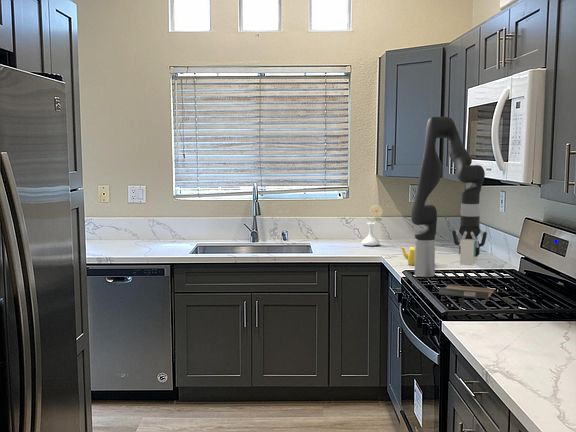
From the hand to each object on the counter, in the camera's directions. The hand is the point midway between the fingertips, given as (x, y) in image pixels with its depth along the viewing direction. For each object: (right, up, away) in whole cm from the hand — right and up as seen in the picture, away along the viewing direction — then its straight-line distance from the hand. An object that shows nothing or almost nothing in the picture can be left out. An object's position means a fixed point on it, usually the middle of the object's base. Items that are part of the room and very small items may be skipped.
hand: (469, 255), depth 253 cm
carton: (0, -3, 0) cm, 3 cm away
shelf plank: (-1, -16, -1) cm, 16 cm away
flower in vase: (-22, -2, +127) cm, 129 cm away
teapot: (-7, -9, +67) cm, 68 cm away
